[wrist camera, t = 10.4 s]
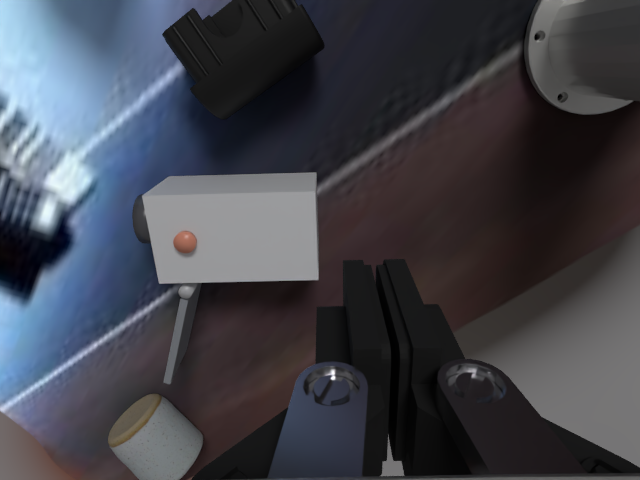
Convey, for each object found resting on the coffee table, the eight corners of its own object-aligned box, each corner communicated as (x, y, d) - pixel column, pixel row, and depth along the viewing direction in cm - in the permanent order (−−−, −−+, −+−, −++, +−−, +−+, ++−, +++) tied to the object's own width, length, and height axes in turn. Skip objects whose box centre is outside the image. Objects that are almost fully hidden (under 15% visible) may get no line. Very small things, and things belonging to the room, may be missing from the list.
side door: (189, 348, 47) (172, 386, 42) (179, 346, 47) (160, 383, 42) (209, 260, 43) (192, 288, 38) (198, 257, 43) (179, 285, 38)
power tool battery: (232, 115, 38) (215, 125, 32) (181, 43, 36) (151, 38, 29) (325, 48, 36) (326, 45, 30) (277, -33, 34) (266, -56, 27)
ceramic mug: (166, 378, 49) (138, 431, 42) (211, 422, 52) (192, 479, 45) (102, 416, 52) (66, 472, 45) (148, 456, 54) (121, 515, 47)
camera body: (316, 172, 40) (315, 193, 33) (318, 251, 43) (318, 284, 36) (152, 176, 40) (118, 198, 33) (166, 255, 43) (138, 288, 37)
